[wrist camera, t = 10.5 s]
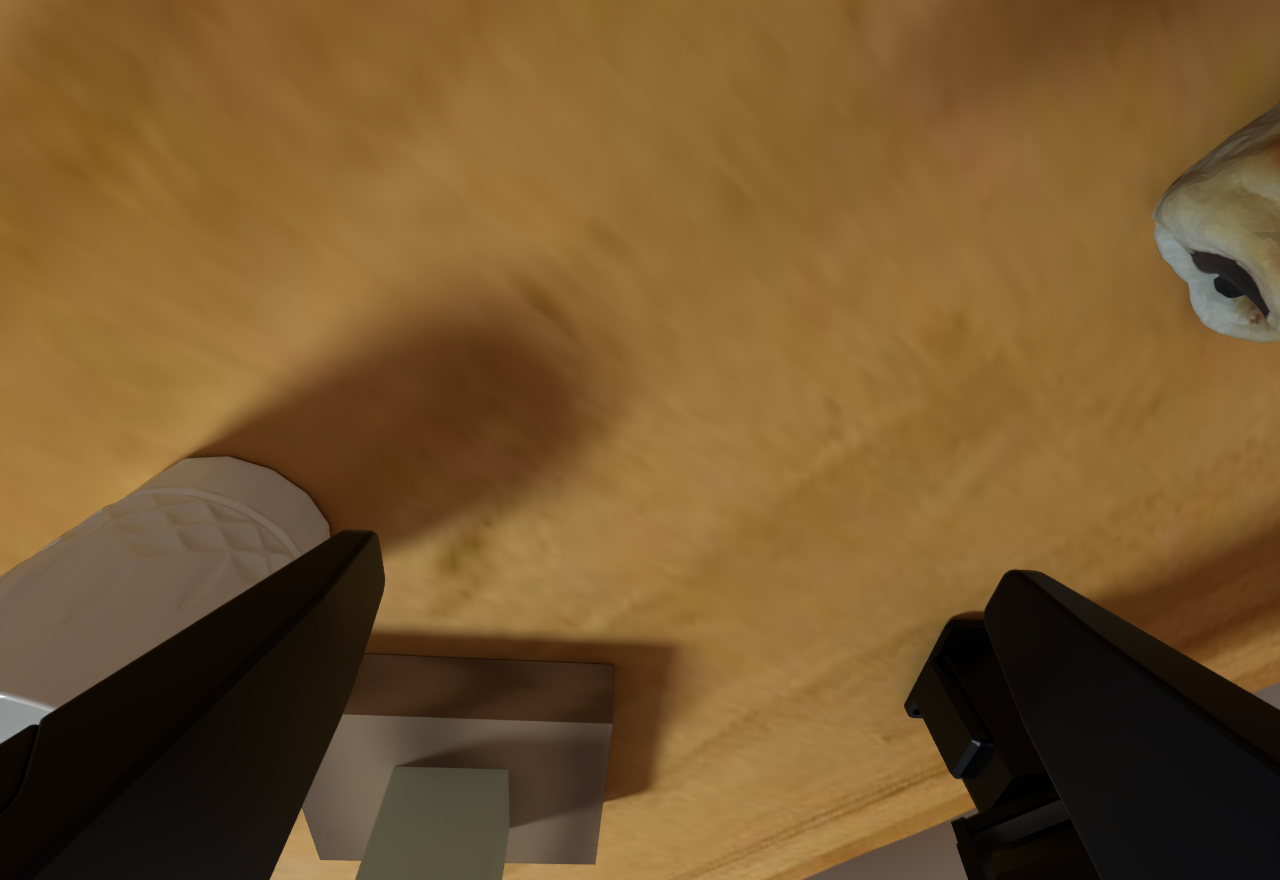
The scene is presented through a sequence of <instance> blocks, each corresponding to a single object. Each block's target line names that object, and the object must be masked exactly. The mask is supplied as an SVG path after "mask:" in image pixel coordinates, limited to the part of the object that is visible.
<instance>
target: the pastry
mask: <svg viewBox="0 0 1280 880" xmlns="http://www.w3.org/2000/svg"><path fill="white" fill-rule="evenodd" d="M1152 217H1153V220H1154V221H1155V222H1156V229H1155V231H1154V238H1155V241H1156V243H1157V245H1158V248H1159V252H1160V254H1161V256H1162V258H1163V259H1164V260H1165V261H1167V262H1168V263H1169V264H1170V265H1171V267H1172V268H1173V270H1174V271H1175V272H1176V273H1177V274H1178V275H1179V276H1180V277H1181V278H1182V279H1184V280H1185V281H1186V282H1187V283H1188V285H1189V292H1190V300H1191V304H1192V306H1193V308H1194V310H1195V312H1196V314H1197V315H1198V316H1199V319H1200V320H1201V322H1202V323H1203V324H1204V325H1206V326H1207V327H1209V328H1211V329H1213V330H1215V331H1217V332H1219V333H1221V334H1223V335H1226V336H1230V337H1233V338H1237V339H1242V340H1246V341H1251V342H1257V343H1270V342H1280V103H1279V104H1278V105H1276V106H1275V107H1274V108H1272V109H1271V110H1270V111H1268V112H1267V113H1266V114H1265V115H1263V116H1262V117H1260V118H1259V119H1257V120H1256V121H1254V122H1253V123H1251V124H1250V125H1248V126H1247V127H1245V128H1244V129H1242V130H1241V131H1239V132H1237V133H1235V134H1234V135H1232V136H1231V137H1229V138H1228V139H1227V140H1225V141H1224V142H1223V143H1222V144H1221V145H1219V146H1218V147H1217V148H1215V149H1214V150H1212V151H1211V152H1210V153H1209V154H1208V155H1206V156H1205V157H1204V158H1203V159H1202V160H1200V161H1199V162H1198V163H1196V164H1195V165H1193V166H1192V167H1191V168H1190V169H1188V170H1187V171H1186V172H1185V173H1184V174H1183V175H1182V176H1181V177H1180V178H1179V180H1178V181H1176V182H1175V183H1174V184H1173V185H1172V186H1171V187H1170V188H1169V189H1168V190H1167V191H1166V192H1165V194H1164V195H1163V196H1162V197H1161V199H1160V200H1159V202H1158V204H1157V205H1156V207H1155V209H1154V211H1153V215H1152Z"/></svg>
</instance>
